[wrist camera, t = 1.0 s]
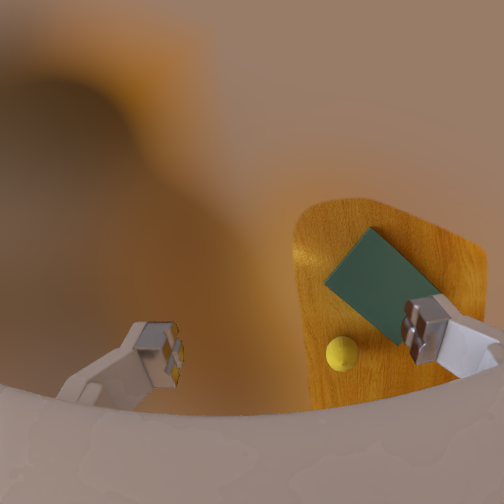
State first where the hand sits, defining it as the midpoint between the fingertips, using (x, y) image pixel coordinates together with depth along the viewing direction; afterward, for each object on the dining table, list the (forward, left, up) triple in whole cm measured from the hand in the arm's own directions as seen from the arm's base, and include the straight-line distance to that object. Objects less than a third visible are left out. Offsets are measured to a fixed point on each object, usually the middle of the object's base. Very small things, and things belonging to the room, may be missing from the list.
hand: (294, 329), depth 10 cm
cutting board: (-15, +1, -41) cm, 44 cm away
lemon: (-16, +13, -41) cm, 46 cm away
